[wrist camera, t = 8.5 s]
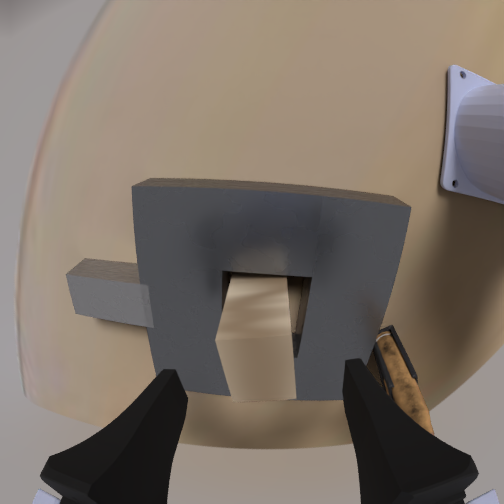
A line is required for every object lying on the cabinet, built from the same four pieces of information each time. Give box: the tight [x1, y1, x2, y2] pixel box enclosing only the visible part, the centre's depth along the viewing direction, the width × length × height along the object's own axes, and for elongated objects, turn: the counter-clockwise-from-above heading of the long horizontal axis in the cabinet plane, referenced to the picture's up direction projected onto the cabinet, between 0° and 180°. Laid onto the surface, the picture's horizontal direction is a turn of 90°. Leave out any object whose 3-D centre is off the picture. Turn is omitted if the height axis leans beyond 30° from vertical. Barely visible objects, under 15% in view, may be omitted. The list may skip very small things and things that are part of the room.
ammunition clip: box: [373, 325, 434, 435], centre depth 15 cm, size 11×2×12 cm, turn 25°
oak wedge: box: [215, 272, 296, 402], centre depth 15 cm, size 3×4×7 cm
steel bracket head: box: [66, 178, 411, 400], centre depth 17 cm, size 20×14×2 cm
